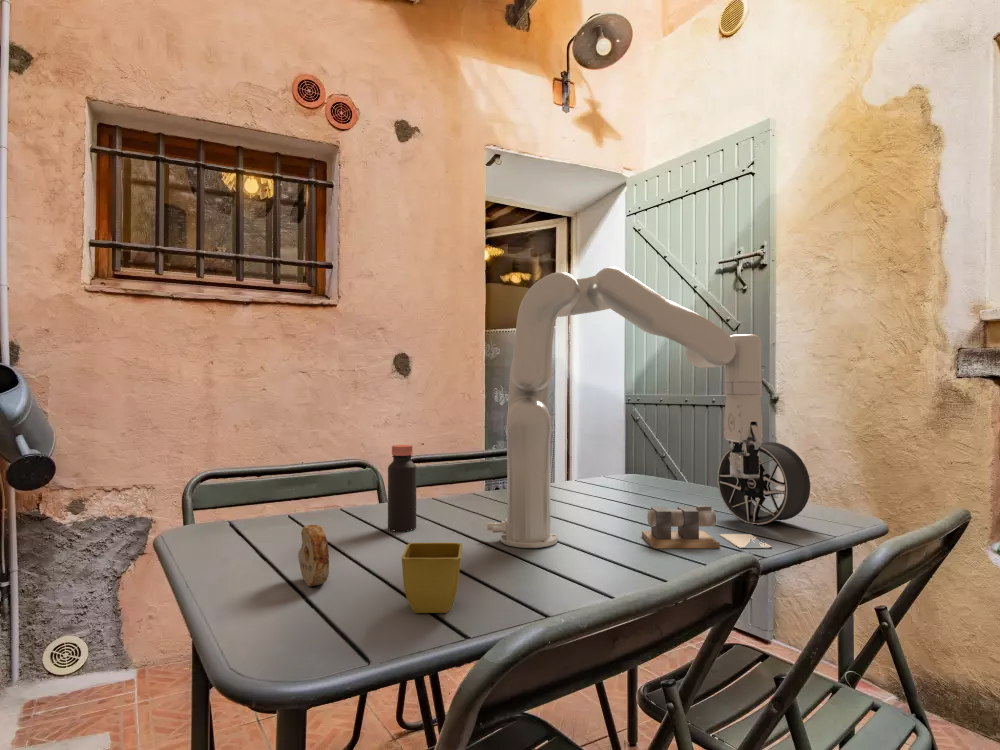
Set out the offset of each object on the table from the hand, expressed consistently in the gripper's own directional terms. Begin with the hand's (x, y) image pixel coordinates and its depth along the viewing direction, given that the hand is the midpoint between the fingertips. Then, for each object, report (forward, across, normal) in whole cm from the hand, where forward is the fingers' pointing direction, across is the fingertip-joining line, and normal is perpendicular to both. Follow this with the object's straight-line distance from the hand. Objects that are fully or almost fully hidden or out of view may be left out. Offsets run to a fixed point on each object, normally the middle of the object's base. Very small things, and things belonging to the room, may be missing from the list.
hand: (744, 471), depth 129 cm
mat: (+15, 0, 0) cm, 15 cm away
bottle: (+15, -13, -78) cm, 80 cm away
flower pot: (+15, +38, -65) cm, 77 cm away
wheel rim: (+16, -19, +12) cm, 28 cm away
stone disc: (+15, +26, -87) cm, 92 cm away
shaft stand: (+15, 0, -15) cm, 21 cm away
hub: (+1, 0, 0) cm, 1 cm away
